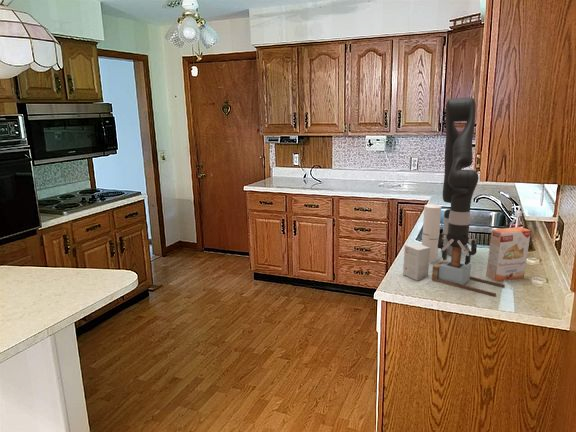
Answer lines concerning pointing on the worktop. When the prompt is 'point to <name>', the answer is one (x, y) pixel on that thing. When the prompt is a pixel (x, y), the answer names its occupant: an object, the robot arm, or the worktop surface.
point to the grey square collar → (454, 272)
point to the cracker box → (508, 253)
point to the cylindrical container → (431, 229)
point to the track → (435, 278)
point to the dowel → (456, 257)
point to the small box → (416, 261)
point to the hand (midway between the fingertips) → (455, 261)
